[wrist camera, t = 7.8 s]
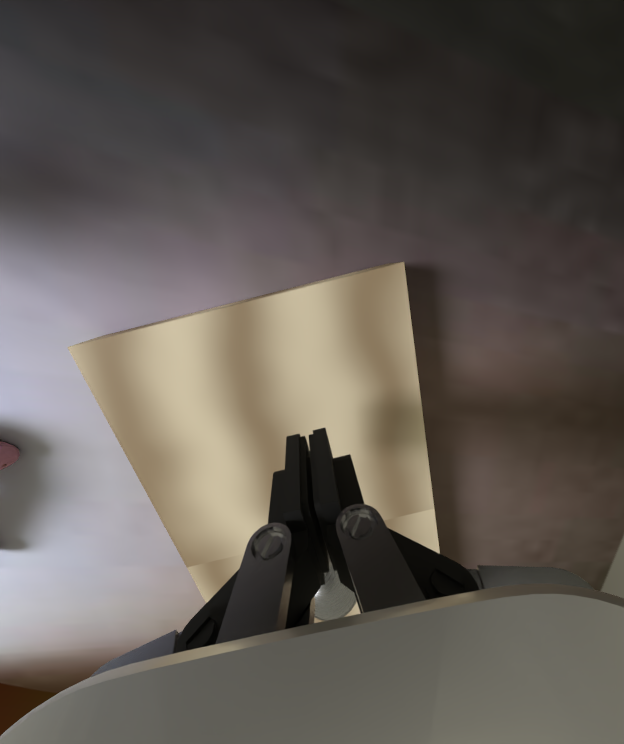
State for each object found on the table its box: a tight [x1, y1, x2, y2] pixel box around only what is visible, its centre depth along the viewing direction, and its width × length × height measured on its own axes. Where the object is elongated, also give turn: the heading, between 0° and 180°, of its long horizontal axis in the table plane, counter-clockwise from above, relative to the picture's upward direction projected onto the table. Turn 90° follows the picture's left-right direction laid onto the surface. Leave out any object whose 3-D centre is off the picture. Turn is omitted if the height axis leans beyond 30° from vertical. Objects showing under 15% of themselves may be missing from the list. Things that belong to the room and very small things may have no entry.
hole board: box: [68, 262, 440, 623], centre depth 18 cm, size 16×24×2 cm, turn 13°
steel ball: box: [314, 550, 357, 621], centre depth 20 cm, size 4×4×4 cm
